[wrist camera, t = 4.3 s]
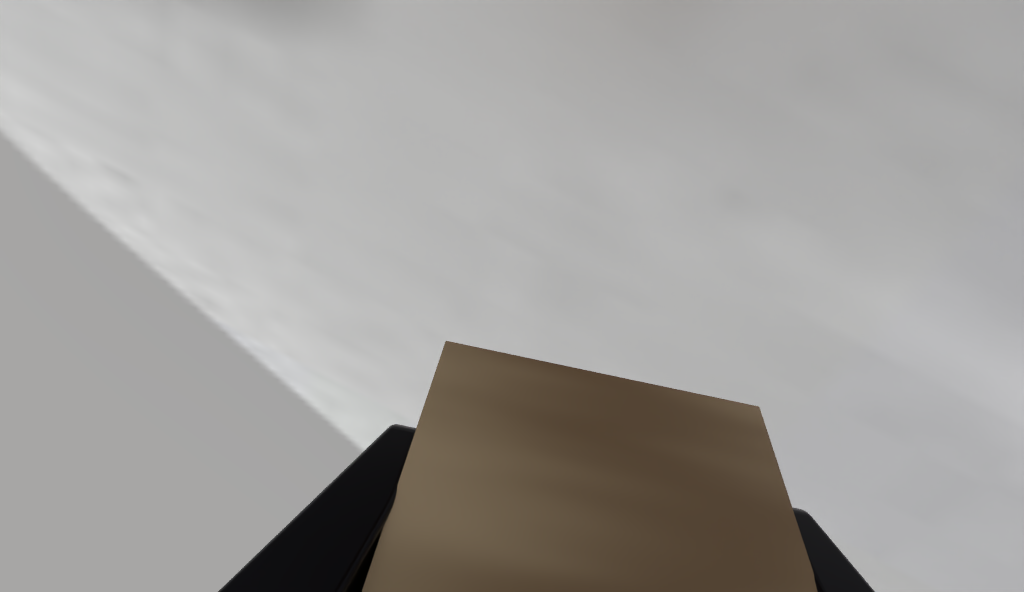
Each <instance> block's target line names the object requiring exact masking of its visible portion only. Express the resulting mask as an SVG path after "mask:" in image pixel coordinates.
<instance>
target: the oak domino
mask: <svg viewBox="0 0 1024 592" xmlns="http://www.w3.org/2000/svg"><path fill="white" fill-rule="evenodd" d="M362 592H818V591H817V588H816V584H815V579H814V573H813V570H812V567H811V564H810V561H809V558H808V554H807V551H806V548H805V545H804V542H803V539H802V536H801V533H800V530H799V527H798V524H797V521H796V518H795V515H794V512H793V509H792V506H791V503H790V500H789V496H788V493H787V490H786V487H785V484H784V481H783V478H782V475H781V472H780V469H779V466H778V463H777V460H776V457H775V454H774V451H773V448H772V445H771V442H770V438H769V435H768V432H767V429H766V426H765V423H764V420H763V417H762V414H761V411H760V408H759V407H758V406H753V405H748V404H744V403H739V402H734V401H729V400H725V399H720V398H715V397H710V396H706V395H701V394H696V393H691V392H687V391H682V390H677V389H672V388H668V387H663V386H658V385H653V384H649V383H644V382H639V381H634V380H630V379H625V378H620V377H615V376H611V375H606V374H601V373H596V372H592V371H587V370H582V369H577V368H573V367H568V366H563V365H558V364H554V363H549V362H544V361H539V360H535V359H530V358H525V357H520V356H516V355H511V354H506V353H501V352H497V351H492V350H487V349H482V348H478V347H473V346H468V345H463V344H459V343H454V342H449V341H446V342H445V345H444V348H443V351H442V354H441V357H440V360H439V363H438V366H437V369H436V372H435V375H434V378H433V381H432V384H431V387H430V390H429V393H428V396H427V399H426V401H425V404H424V407H423V410H422V413H421V416H420V419H419V422H418V425H417V428H416V431H415V434H414V437H413V440H412V443H411V446H410V449H409V452H408V455H407V458H406V461H405V464H404V467H403V470H402V473H401V476H400V479H399V482H398V485H397V493H396V498H395V501H394V504H393V507H392V509H391V512H390V514H389V516H388V518H387V520H386V522H385V524H384V527H383V530H382V533H381V536H380V539H379V542H378V545H377V548H376V550H375V553H374V556H373V559H372V562H371V565H370V568H369V571H368V574H367V577H366V580H365V583H364V586H363V589H362Z"/></svg>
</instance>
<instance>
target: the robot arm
mask: <svg viewBox="0 0 1024 592" xmlns="http://www.w3.org/2000/svg"><path fill="white" fill-rule="evenodd" d="M415 431H416V428H412V427H408V426H403V425H398V424H394V425H392V426H390V427H389V428H388V429H387V430H386V431H385V432H383V433H382V434H381V435H380V436H379V437H378V438H377V439H376V440H375V441H374V442H373V443H372V444H371V445H370V446H369V447H368V448H367V449H366V450H365V451H364V452H363V453H362V454H361V455H360V456H359V457H358V458H357V459H355V460H354V461H353V462H352V463H351V464H350V465H349V466H348V467H347V468H346V469H345V470H344V471H343V472H342V473H341V474H340V475H339V476H338V477H337V478H336V479H335V480H334V481H333V482H332V483H331V484H329V486H328V487H326V488H325V489H324V490H323V491H322V492H321V493H320V494H319V495H318V496H317V497H316V498H315V499H314V500H313V501H312V502H311V503H310V504H309V505H308V506H307V507H306V508H305V509H304V510H303V511H301V512H300V513H299V514H298V515H297V516H296V517H295V518H294V519H293V520H292V521H291V522H290V523H289V524H288V525H287V526H286V527H285V528H284V529H283V530H282V531H281V532H280V533H279V534H278V535H276V536H275V538H273V539H272V540H271V541H270V542H269V543H268V544H267V545H266V546H265V547H264V548H263V549H262V550H261V551H260V552H259V553H258V554H257V555H256V556H255V557H254V558H253V559H252V560H251V561H249V563H247V564H246V565H245V566H244V568H242V569H241V570H240V571H239V572H238V573H237V574H236V575H235V576H234V577H233V578H232V579H231V580H230V581H229V582H228V583H227V584H226V585H225V586H224V587H223V588H222V589H220V590H219V591H218V592H362V589H363V586H364V583H365V580H366V577H367V574H368V571H369V568H370V565H371V562H372V559H373V556H374V553H375V550H376V548H377V545H378V542H379V539H380V536H381V533H382V530H383V527H384V524H385V522H386V520H387V518H388V516H389V514H390V512H391V509H392V507H393V504H394V501H395V498H396V493H397V485H398V482H399V479H400V476H401V473H402V470H403V467H404V464H405V461H406V458H407V455H408V452H409V449H410V446H411V443H412V440H413V437H414V434H415ZM792 509H793V512H794V515H795V518H796V521H797V524H798V527H799V530H800V533H801V536H802V539H803V542H804V545H805V548H806V551H807V554H808V558H809V561H810V564H811V567H812V570H813V573H814V579H815V584H816V588H817V591H818V592H875V591H874V590H873V589H872V588H871V587H870V586H869V584H868V583H867V582H866V581H865V580H864V578H863V577H862V576H861V575H860V574H859V572H858V571H857V570H856V569H855V568H854V567H853V565H852V564H851V563H850V562H849V561H848V559H847V558H846V557H845V556H844V555H843V553H842V552H841V551H840V550H839V549H838V547H837V546H836V545H835V544H834V543H833V542H832V540H831V539H830V538H829V537H828V536H827V534H826V533H825V532H824V531H823V530H822V528H821V527H820V526H819V525H818V524H817V523H816V521H815V520H814V519H813V518H812V517H811V516H810V515H809V514H808V513H807V512H806V511H804V510H801V509H797V508H792Z"/></svg>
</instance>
